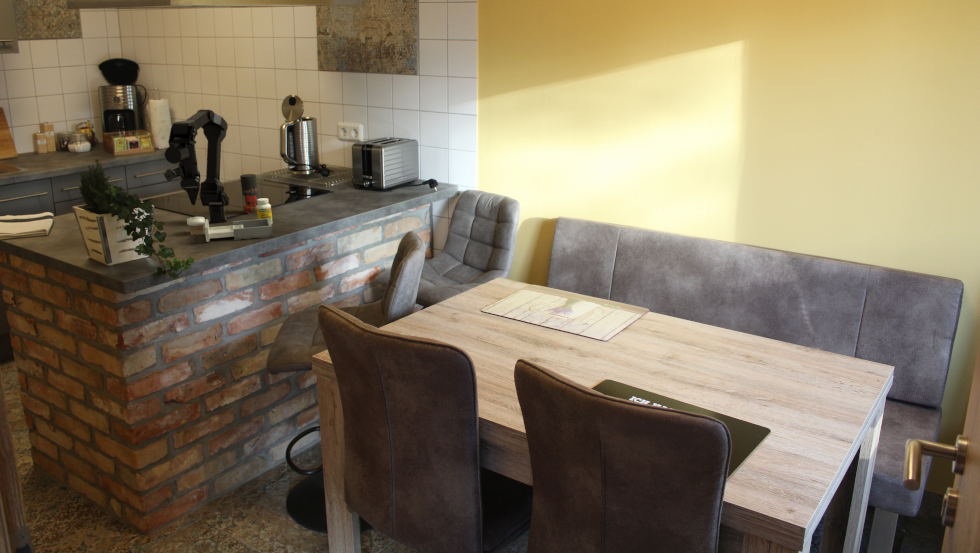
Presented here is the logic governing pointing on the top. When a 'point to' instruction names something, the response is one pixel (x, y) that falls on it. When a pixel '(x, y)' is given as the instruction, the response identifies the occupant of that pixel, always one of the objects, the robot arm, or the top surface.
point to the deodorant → (249, 193)
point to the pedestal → (197, 229)
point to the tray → (219, 231)
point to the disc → (195, 221)
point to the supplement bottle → (264, 209)
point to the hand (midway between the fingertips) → (193, 201)
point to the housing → (253, 229)
